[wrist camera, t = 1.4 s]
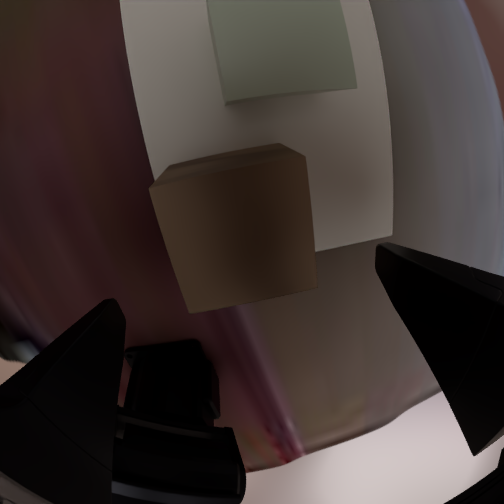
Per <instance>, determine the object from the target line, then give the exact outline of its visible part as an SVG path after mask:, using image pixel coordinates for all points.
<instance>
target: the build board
mask: <svg viewBox="0 0 504 504" xmlns="http://www.w3.org/2000/svg"><path fill="white" fill-rule="evenodd" d="M340 3H341V7H342V11H343V15H344V19H345V23H346V27H347V32H348V37H349V41H350V46H351V51H352V57H353V62H354V68H355V74H356V80H357V87H358V88H355V89H346V90H338V91H331V92H324V93H317V94H305V95H295V96H286V97H277V98H269V99H262V100H256V101H249V102H243V103H237V104H232V105H226V106H224V101H223V95H222V90H221V85H220V80H219V75H218V70H217V64H216V59H215V54H214V49H213V44H212V39H211V33H210V28H209V23H208V15H207V5H206V0H120V7H121V16H122V23H123V30H124V37H125V44H126V50H127V56H128V62H129V68H130V73H131V79H132V84H133V89H134V94H135V99H136V104H137V109H138V114H139V118H140V123H141V127H142V132H143V136H144V140H145V144H146V148H147V153H148V157H149V161H150V164H151V168H152V172H153V176H154V180H156V179H157V178H158V177H159V176H160V175H161V174H162V173H163V172H164V170H165V169H166V168H167V167H168V166H169V165H172V164H176V163H180V162H185V161H189V160H193V159H197V158H202V157H206V156H211V155H215V154H220V153H225V152H230V151H235V150H240V149H246V148H251V147H257V146H263V145H269V144H275V143H281V144H283V145H285V146H287V147H289V148H291V149H293V150H295V151H297V152H298V153H300V154H302V155H304V156H306V163H307V171H308V180H309V188H310V198H311V208H312V218H313V229H314V241H315V252H318V251H322V250H327V249H332V248H336V247H341V246H346V245H350V244H355V243H359V242H364V241H369V240H373V239H378V238H382V237H387V236H391V235H392V229H393V159H392V140H391V127H390V116H389V106H388V97H387V89H386V82H385V75H384V69H383V63H382V57H381V52H380V47H379V42H378V37H377V32H376V28H375V23H374V19H373V15H372V11H371V7H370V4H369V0H340Z"/></svg>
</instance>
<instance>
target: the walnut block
mask: <svg viewBox="0 0 504 504" xmlns="http://www.w3.org/2000/svg"><path fill="white" fill-rule="evenodd" d="M148 189H149V192H150V196H151V199H152V203H153V206H154V210H155V213H156V216H157V220H158V223H159V226H160V229H161V233H162V236H163V239H164V242H165V245H166V248H167V251H168V254H169V257H170V260H171V263H172V266H173V269H174V272H175V275H176V278H177V281H178V283H179V286H180V289H181V292H182V295H183V297H184V300H185V303H186V305H187V308H188V311H189V313H190V314H192V313H198V312H204V311H209V310H215V309H220V308H225V307H230V306H236V305H241V304H246V303H251V302H256V301H260V300H265V299H270V298H275V297H279V296H284V295H289V294H293V293H298V292H302V291H307V290H311V289H315V288H318V284H317V268H316V254H315V241H314V229H313V218H312V208H311V198H310V188H309V180H308V171H307V163H306V156H304V155H302V154H300V153H298V152H297V151H295V150H293V149H291V148H289V147H287V146H285V145H283V144H281V143H275V144H269V145H263V146H257V147H251V148H246V149H240V150H235V151H230V152H225V153H220V154H215V155H211V156H206V157H202V158H197V159H193V160H189V161H185V162H180V163H176V164H172V165H169V166H168V167H167V168H166V169H165V170H164V172H163V173H162V174H161V175H160V176H159V177H158V178H157V179H156V180H155V182H154V183H153V184H152V185H151V186H150V187H149V188H148Z"/></svg>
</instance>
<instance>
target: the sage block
mask: <svg viewBox="0 0 504 504" xmlns="http://www.w3.org/2000/svg"><path fill="white" fill-rule="evenodd" d="M206 5H207V15H208V23H209V28H210V33H211V39H212V44H213V49H214V54H215V59H216V64H217V70H218V75H219V80H220V85H221V90H222V95H223V101H224V106H226V105H232V104H237V103H243V102H249V101H256V100H262V99H269V98H277V97H286V96H295V95H305V94H317V93H324V92H331V91H338V90H346V89H355V88H358V87H357V80H356V74H355V68H354V62H353V57H352V51H351V46H350V41H349V37H348V32H347V27H346V23H345V19H344V15H343V11H342V7H341V3H340V0H206Z"/></svg>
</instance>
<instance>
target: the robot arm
mask: <svg viewBox="0 0 504 504" xmlns="http://www.w3.org/2000/svg"><path fill="white" fill-rule="evenodd" d="M375 269H376V272H377V274H378V276H379V278H380V280H381V282H382V284H383V286H384V288H385V290H386V292H387V294H388V296H389V298H390V300H391V302H392V304H393V306H394V308H395V309H396V311H397V313H398V314H399V316H400V317H401V319H402V321H403V322H404V324H405V325H406V327H407V329H408V330H409V332H410V334H411V335H412V337H413V339H414V340H415V342H416V344H417V346H418V347H419V349H420V351H421V353H422V354H423V356H424V358H425V360H426V361H427V363H428V365H429V367H430V369H431V370H432V372H433V374H434V376H435V378H436V380H437V381H438V383H439V385H440V387H441V389H442V391H443V393H444V395H445V397H446V398H447V401H448V403H450V404H449V405H450V407H451V409H452V411H453V413H454V415H455V417H456V419H457V422H458V424H459V426H460V428H461V430H462V432H463V434H464V437H465V439H466V441H467V443H468V446H469V448H470V450H471V453H472V454H473V456H476V455H477V454H479V453H480V452H482V451H483V450H484V449H486V448H487V447H488V446H490V445H491V444H493V443H494V442H495V441H497V440H498V439H499V438H500V437H502V436H503V435H504V277H503V276H500V275H496V274H493V273H489V272H486V271H483V270H480V269H476V268H473V267H469V266H467V265H464V264H460V263H457V262H454V261H451V260H447V259H444V258H441V257H438V256H434V255H431V254H427V253H424V252H421V251H417V250H414V249H410V248H407V247H403V246H400V245H396V244H392V243H389V242H386V243H381V244H378V245H377V246H376V257H375ZM125 330H126V319H125V316H124V314H123V312H122V310H121V308H120V306H119V304H118V302H117V300H116V299H114V298H111V299H105V300H103V301H102V302H101V303H99V304H98V305H97V306H96V307H94V308H93V309H92V310H91V311H89V312H88V313H87V314H86V315H84V316H83V317H82V318H81V319H79V320H78V321H77V322H76V323H74V324H73V325H72V326H71V327H70V328H68V329H67V330H66V331H65V332H64V333H62V334H61V335H60V336H59V337H58V338H56V339H55V340H54V341H53V342H52V343H50V344H49V345H48V346H47V347H46V348H45V349H43V350H42V351H41V352H40V353H39V354H38V355H36V356H35V357H34V358H33V359H32V360H31V361H29V362H28V363H27V364H26V365H25V366H24V367H22V368H21V369H20V370H19V371H18V372H16V373H15V374H14V375H13V376H11V377H10V378H9V379H8V380H6V382H4V383H3V384H1V385H0V504H240V503H241V502H242V500H243V497H244V495H245V490H246V473H245V468H244V464H243V461H242V458H241V455H240V452H239V448H238V445H237V442H236V439H235V435H234V432H233V429H232V428H231V427H224V428H222V427H214V419H219V417H220V396H219V379H218V376H217V374H216V372H215V369H214V367H213V365H212V362H211V361H209V360H207V359H206V357H205V355H204V352H203V350H202V347H201V345H200V343H199V342H198V341H196V340H190V341H183V342H176V343H169V344H162V345H155V346H147V347H139V348H130V349H126V350H125V353H124V344H125ZM192 346H195V347H192ZM129 354H130V355H129ZM124 357H125V359H126V360H127V362H128V363H129V365H130V366H131V368H132V370H131V374H130V378H129V383H128V387H127V392H126V396H125V401H124V406H123V407H120V406H119V405H117V403H118V395H119V387H120V380H121V373H122V367H123V359H124ZM444 504H504V448H503V449H502V451H501V455H500V459H499V463H498V467H497V468H496V469H495V470H494V471H493V472H491V473H490V474H488V475H487V476H486V477H485V478H483V479H481V480H480V481H479V482H477V483H476V484H474V485H473V486H471V487H470V488H468V489H467V490H465V491H464V492H462V493H461V494H459V495H457V496H456V497H454V498H453V499H451V500H449V501H448V502H446V503H444Z"/></svg>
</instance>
